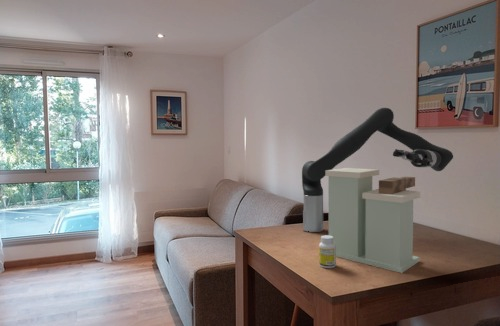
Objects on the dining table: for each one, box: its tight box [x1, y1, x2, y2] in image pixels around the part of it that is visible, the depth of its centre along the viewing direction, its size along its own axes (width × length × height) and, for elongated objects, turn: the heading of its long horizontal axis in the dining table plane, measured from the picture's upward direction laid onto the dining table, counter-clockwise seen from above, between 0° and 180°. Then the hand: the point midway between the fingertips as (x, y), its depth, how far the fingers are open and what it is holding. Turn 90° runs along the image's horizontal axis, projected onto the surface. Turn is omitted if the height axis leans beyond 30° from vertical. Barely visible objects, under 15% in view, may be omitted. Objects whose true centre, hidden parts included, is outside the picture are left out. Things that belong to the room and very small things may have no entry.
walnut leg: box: [378, 176, 416, 194], centre depth 129 cm, size 22×4×4 cm, turn 135°
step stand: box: [324, 167, 421, 274], centre depth 131 cm, size 15×29×32 cm, turn 45°
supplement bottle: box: [318, 234, 337, 269], centre depth 124 cm, size 6×6×10 cm
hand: (403, 157), depth 141 cm, fingers open, 8 cm apart
